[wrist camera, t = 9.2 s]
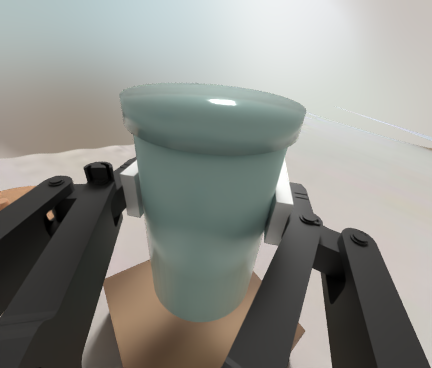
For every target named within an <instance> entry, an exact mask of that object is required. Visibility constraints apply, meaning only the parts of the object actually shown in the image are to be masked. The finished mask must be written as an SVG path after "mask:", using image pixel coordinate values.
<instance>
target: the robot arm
mask: <svg viewBox="0 0 432 368" xmlns="http://www.w3.org/2000/svg"><path fill="white" fill-rule="evenodd" d="M84 171H85V175H86V178H87V181H88V182H87V183H86V184H73V181H72V178H70V177H68V176H54V177H52V178H49V179H47V180H45V181H43V182H42V183H40V184H39V185H37V186H36V187H34V188H33V189H31V190H30V191H29V192H27V193H26V194H24V195H23V196H21V197H20V198H18V199H17V200H15V201H14V202H12V203H11V204H9V205H8V206H6V207H5V208H3V209H2V210H1V211H0V315H1V314H2V313H3V312H4V311H5V312H4V313H3V315H2V316H1V318H0V368H82V366H81V360H82V354H83V350H84V347H85V343H86V340H87V337H88V333H89V330H90V327H91V323H92V320H93V316H94V313H95V310H96V306H97V303H98V300H99V296H100V293H101V290H102V286H103V283H104V280H105V276H106V273H107V270H108V266H109V263H110V260H111V256H112V253H113V250H114V246H115V243H116V240H117V236H118V233H119V230H120V226H121V223H122V219H123V215H122V211H123V210H124V209H125V208H126V209H127V214H128V215H129V216H134V217H139V218H140V217H141V216H142V215H143V213H144V210H143V203H142V195H141V188H140V180H139V173H138V166H137V158H136V157H135V158H133V159H130V160H128V161H127V162H126V163H124V165H122V166H120V168H118V169H117V170H115V171H114V172H113V167H112V165H111V164H110V163H108V162H94V163H90V164H88V165H86V166H85V167H84ZM307 195H308V194H307V191H306V189H305V188H304V187H303V186H302V185H301V184H297V183H291V182H289V179H288V174H287V169H286V163H285V158H284V162H283V165H282V169H281V172H280V176H279V179H278V183H277V187H276V190H275V194H274V197H273V201H272V204H271V208H270V211H269V215H268V218H267V222H266V226H265V229H264V243H267V244H272V245H277V246H278V248H277V250H276V252H275V255H274V257H273V259H272V261H271V263H270V265H269V267H268V270H267V272H266V274H265V276H264V278H263V280H262V282H261V284H260V287H259V289H258V291H257V293H256V295H255V297H254V299H253V302H252V304H251V306H250V308H249V310H248V312H247V314H246V317H245V319H244V321H243V323H242V325H241V327H240V329H239V331H238V334H237V336H236V338H235V340H234V342H233V344H232V346H231V349H230V351H229V353H228V355H227V357H226V359H225V361H224V363H223V365H222V366H221V368H287V365H288V361H289V357H290V353H291V349H292V345H293V341H294V337H295V333H296V329H297V325H298V321H299V317H300V313H301V310H302V306H303V302H304V298H305V294H306V290H307V286H308V282H309V278H310V274H311V270H312V268H314V269H316V270H318V271H320V272H321V279H322V287H323V295H324V303H325V311H326V319H327V328H328V336H329V344H330V352H331V360H332V368H431V367H430V365H429V363H428V360H427V358H426V356H425V353H424V351H423V349H422V347H421V344H420V342H419V340H418V338H417V335H416V333H415V331H414V328H413V326H412V324H411V322H410V319H409V317H408V315H407V312H406V310H405V308H404V306H403V303H402V301H401V299H400V297H399V294H398V292H397V290H396V287H395V285H394V283H393V281H392V278H391V276H390V274H389V271H388V269H387V267H386V265H385V262H384V260H383V258H382V256H381V253H380V251H379V249H378V246H377V244H376V242H375V241H374V240H373V238H371V237H370V236H369V235H368V234H366V233H364V232H363V231H360V230H357V229H354V228H346V229H344V230H343V231H342V232H341V233H338V232H336V231H333V230H331V229H329V228H326V227H325V226H323V222H322V220H321V219H320V218H319V217H318V216H317V215H316V214H314V213H313V210H312V207H311V204H310V201H309V197H308V196H307ZM50 211H52V213H53V215H54V217H53V218H52V219H51V220H49V219H48V217H47V215H46V214H47V213H48V212H50ZM281 239H282V240H281Z"/></svg>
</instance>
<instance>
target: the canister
mask: <svg viewBox="0 0 432 368" xmlns="http://www.w3.org/2000/svg"><path fill="white" fill-rule="evenodd" d="M120 101H121V108H122V115H123V121H124V126H125V127H126V129H127V130H128V131H129V132H131V133H132V134H133V136H134V143H135V151H136V158H137V166H138V173H139V180H140V188H141V195H142V203H143V210H144V218H145V225H146V232H147V240H148V247H149V255H150V262H151V270H152V277H153V284H154V289H155V292H156V295H157V297H158V299H159V301H160V302H161V303H162V305H163V306H164V307H165V308H166V309H167V310H168V311H169V312H171V313H172V314H173V315H175V316H177V317H179V318H181V319H184V320H187V321H192V322H210V321H214V320H218V319H220V318H223V317H225V316H227V315H228V314H230V313H231V312H233V311H234V310H235V309H236V308H237V307H238V306H239V305H240V304H241V302H242V301H243V299H244V297H245V295H246V293H247V289H248V286H249V282H250V279H251V275H252V272H253V268H254V265H255V261H256V257H257V254H258V250H259V247H260V243H261V240H262V236H263V233H264V229H265V226H266V222H267V218H268V215H269V211H270V208H271V204H272V201H273V197H274V194H275V190H276V187H277V183H278V179H279V176H280V172H281V169H282V165H283V162H284V158H285V155H286V151H287V148H288V147H289V146H291V145H292V144H294V143H295V142H296V141H297V139H298V137H299V134H300V130H301V127H302V124H303V120H304V117H305V114H306V109H305V108H304V107H303V106H302V105H301V104H299V103H297V102H295V101H293V100H290V99H288V98H285V97H282V96H278V95H275V94H271V93H267V92H262V91H257V90H252V89H246V88H239V87H232V86H223V85H213V84H198V83H158V84H147V85H140V86H134V87H131V88H128V89H125V90H123V91H122V92H121V93H120Z"/></svg>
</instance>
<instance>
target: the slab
mask: <svg viewBox="0 0 432 368" xmlns="http://www.w3.org/2000/svg"><path fill="white" fill-rule="evenodd" d="M261 282H262V281H261V280H260V278H259V277H258V276H257V275H256V274H255V273H254V272H252V275H251V279H250V282H249V286H248V289H247V293H246V295H245V297H244V299H243V301H242V302H241V304H240V305H239V306H238V307H237V308H236V309H235V310H234V311H233V312H231V313H230V314H228V315H227V316H225V317H223V318H220V319H218V320H214V321H210V322H192V321H187V320H184V319H181V318H179V317H177V316H175V315H173V314H172V313H171V312H169V311H168V310H167V309H166V308H165V307H164V306H163V305H162V303H161V302H160V301H159V299H158V297H157V295H156V292H155V289H154V284H153V277H152V270H151V262H150V260H147V261H145V262H143V263H141V264H138V265H136V266H134V267H131V268H129V269H127V270H124V271H122V272H120V273H117V274H115V275H113V276H110V277H108V278H106V279H105V280H104V283H103V286H104V290H105V295H106V299H107V303H108V307H109V311H110V315H111V320H112V324H113V328H114V332H115V336H116V340H117V344H118V349H119V353H120V357H121V361H122V365H123V368H221V366H222V365H223V363H224V361H225V359H226V357H227V355H228V353H229V351H230V349H231V346H232V344H233V342H234V340H235V338H236V336H237V334H238V331H239V329H240V327H241V325H242V323H243V321H244V319H245V317H246V314H247V312H248V310H249V308H250V306H251V304H252V302H253V299H254V297H255V295H256V293H257V291H258V289H259V287H260V284H261ZM304 332H305V330H304V329H303V327H302V326H301V325H300V324H299V323H298V325H297V329H296V333H295V337H294V341H293V345H292V349H291V351H292V350H293V348H294V347H295V345H296V344H297V342H298V341H299V339H300V338H301V337H302V335H303V334H304Z"/></svg>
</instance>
